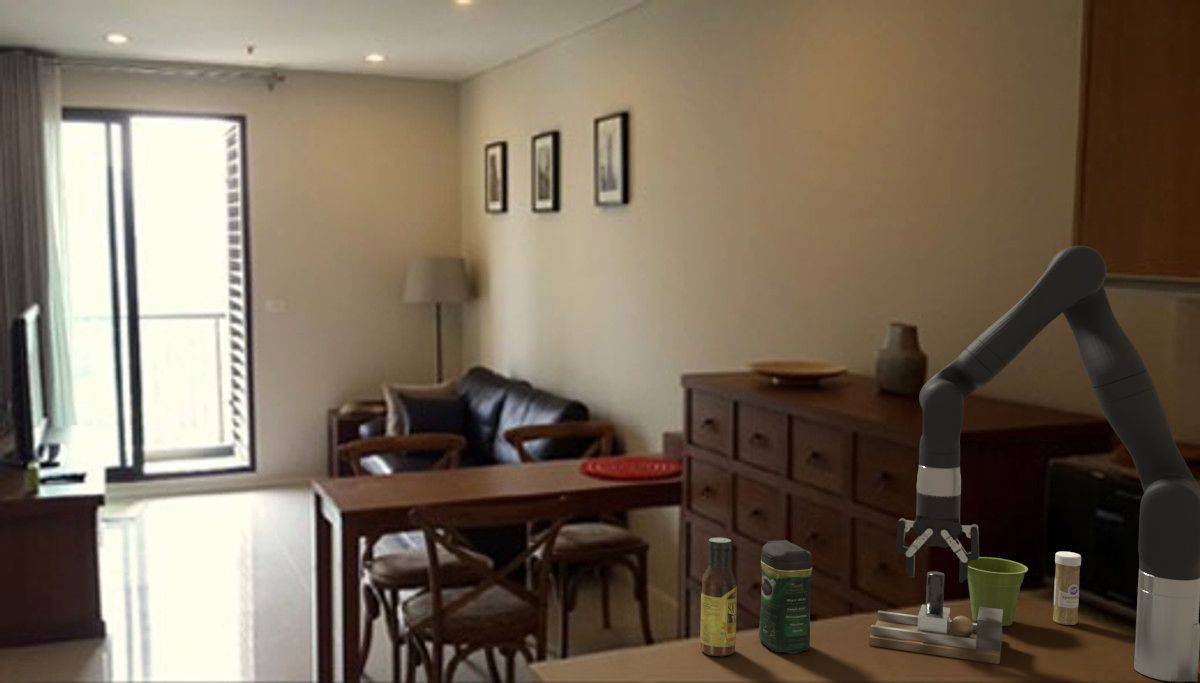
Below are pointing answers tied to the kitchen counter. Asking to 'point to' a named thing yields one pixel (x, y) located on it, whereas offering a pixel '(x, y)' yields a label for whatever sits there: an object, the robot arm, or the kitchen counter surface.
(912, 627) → the board
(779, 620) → the coffee jar
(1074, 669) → the kitchen counter surface
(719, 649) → the sauce bottle
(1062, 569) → the sprinkles bottle
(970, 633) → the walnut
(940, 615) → the sliding jaw
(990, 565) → the plant pot
